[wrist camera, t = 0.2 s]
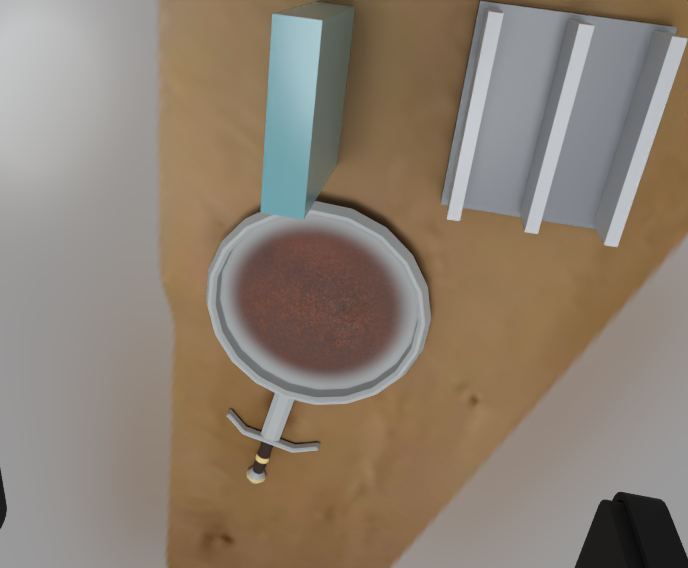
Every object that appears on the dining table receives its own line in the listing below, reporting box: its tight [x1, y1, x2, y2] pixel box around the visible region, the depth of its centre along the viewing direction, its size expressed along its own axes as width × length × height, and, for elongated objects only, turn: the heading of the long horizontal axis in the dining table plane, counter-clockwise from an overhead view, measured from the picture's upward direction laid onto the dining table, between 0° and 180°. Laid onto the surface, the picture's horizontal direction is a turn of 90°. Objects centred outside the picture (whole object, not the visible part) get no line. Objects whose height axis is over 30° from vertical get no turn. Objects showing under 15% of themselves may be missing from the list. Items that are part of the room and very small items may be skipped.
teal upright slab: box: [260, 2, 355, 220], centre depth 37 cm, size 10×2×11 cm, turn 173°
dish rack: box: [441, 0, 688, 247], centre depth 39 cm, size 13×11×4 cm
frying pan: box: [206, 201, 431, 484], centre depth 51 cm, size 17×3×28 cm
